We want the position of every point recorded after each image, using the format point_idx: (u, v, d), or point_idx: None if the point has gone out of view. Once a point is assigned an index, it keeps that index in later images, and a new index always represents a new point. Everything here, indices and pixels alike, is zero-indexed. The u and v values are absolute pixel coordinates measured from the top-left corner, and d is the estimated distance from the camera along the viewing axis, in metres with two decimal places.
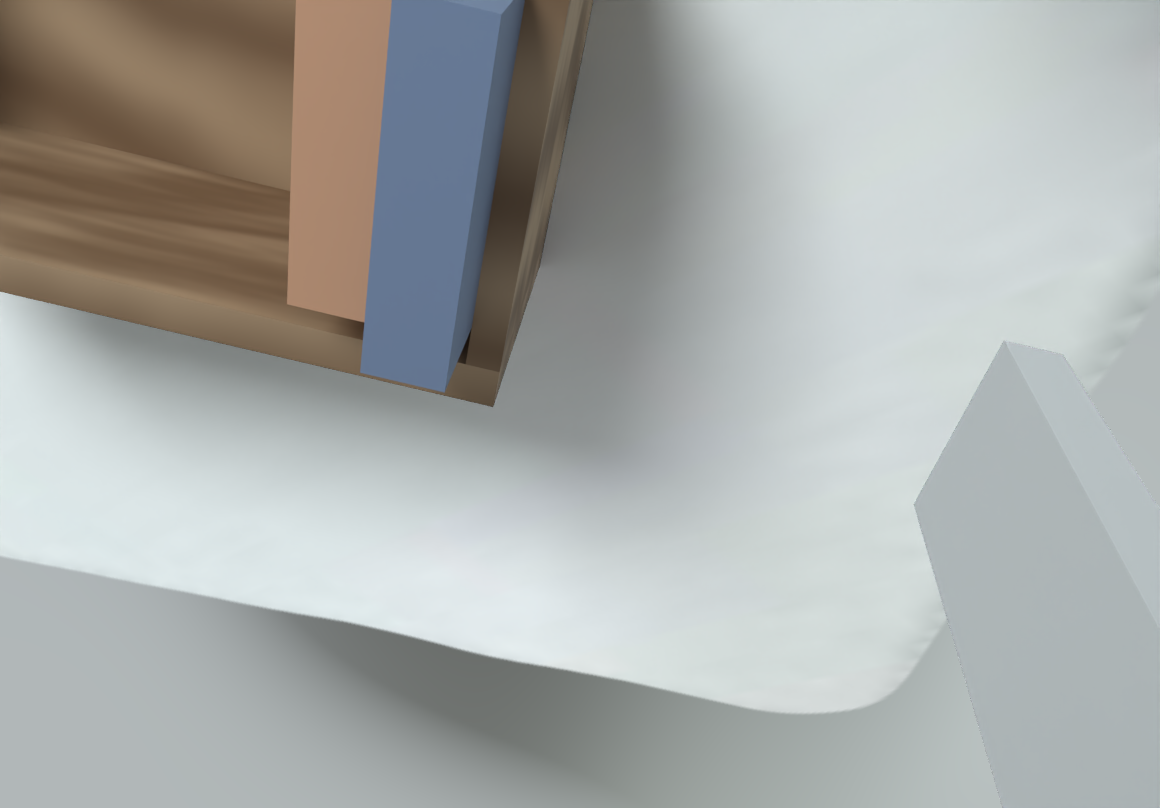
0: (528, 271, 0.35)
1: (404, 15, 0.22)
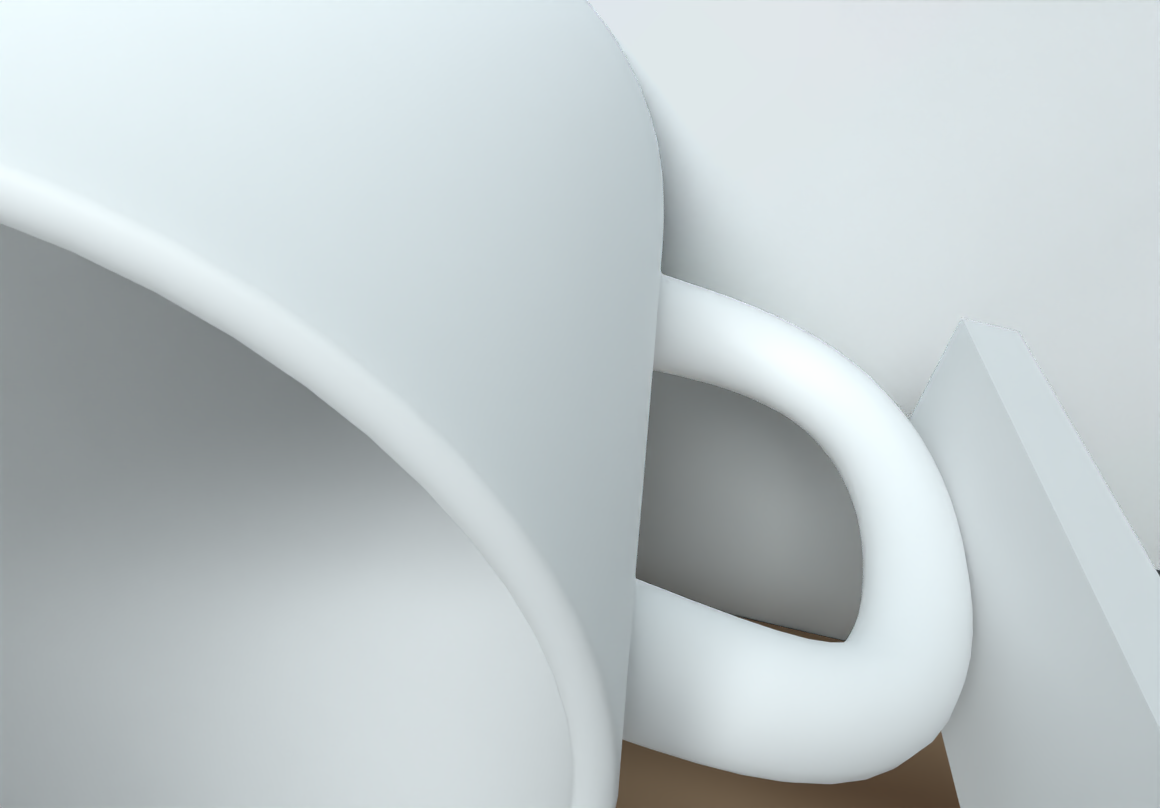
0: None
1: None
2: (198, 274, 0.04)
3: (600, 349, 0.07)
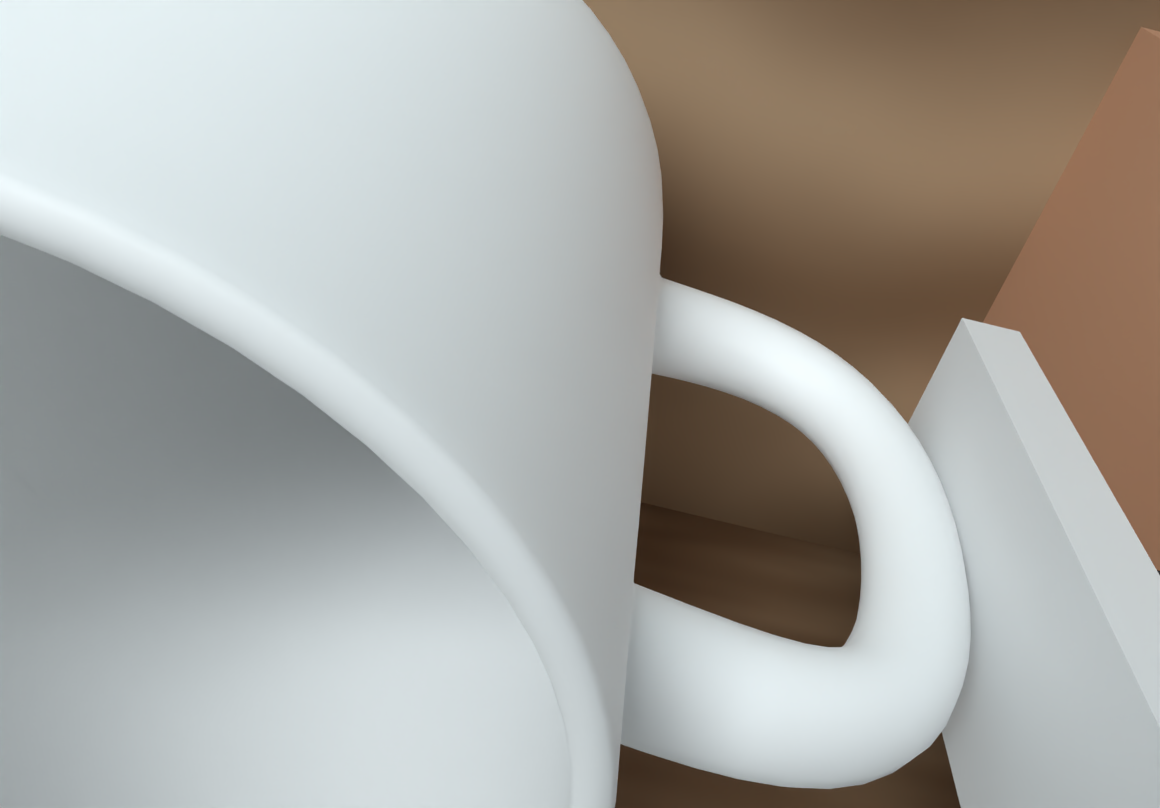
0: None
1: None
2: (197, 285, 0.04)
3: (598, 355, 0.07)
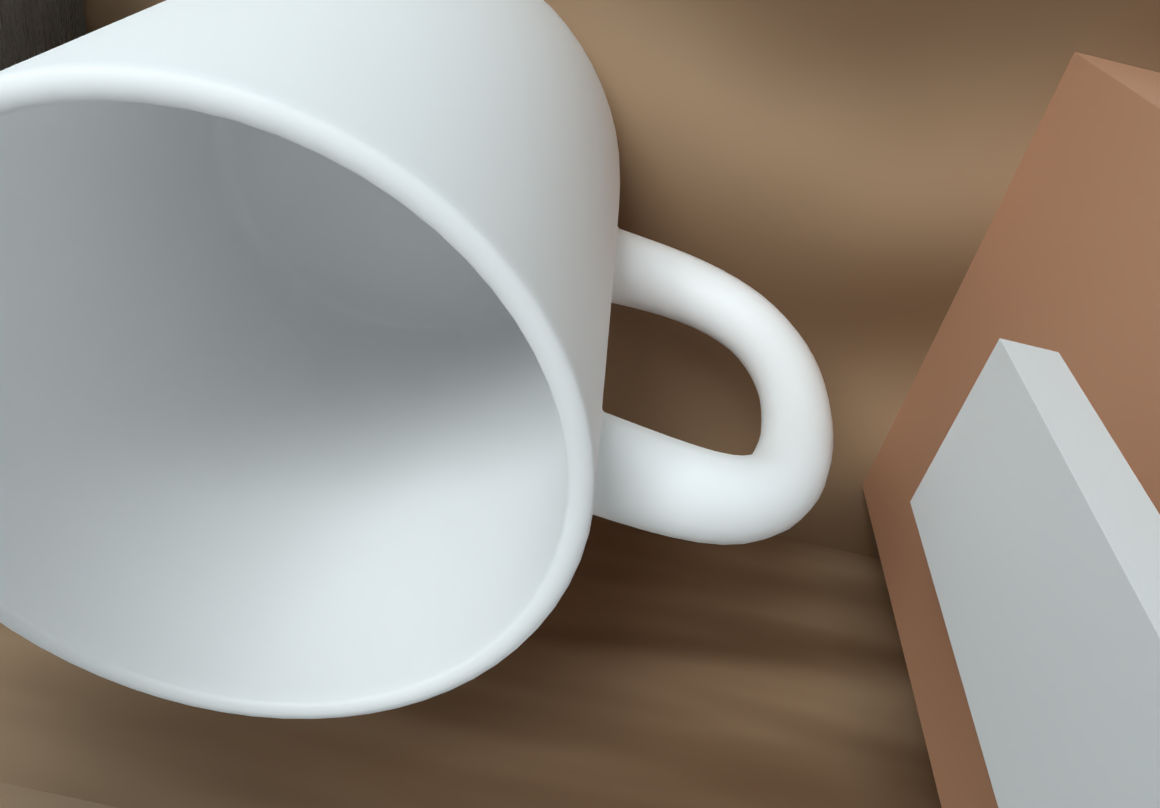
0: None
1: None
2: (386, 167, 0.08)
3: (581, 247, 0.11)
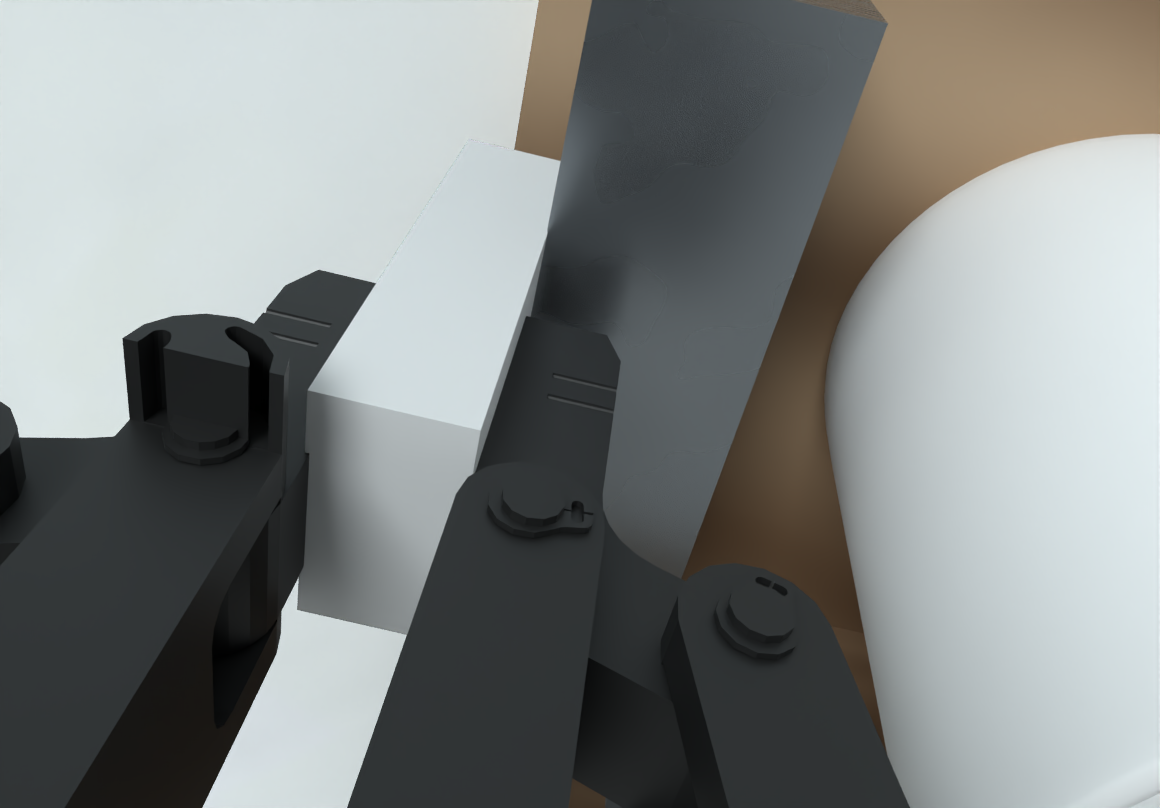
0: None
1: None
2: None
3: None
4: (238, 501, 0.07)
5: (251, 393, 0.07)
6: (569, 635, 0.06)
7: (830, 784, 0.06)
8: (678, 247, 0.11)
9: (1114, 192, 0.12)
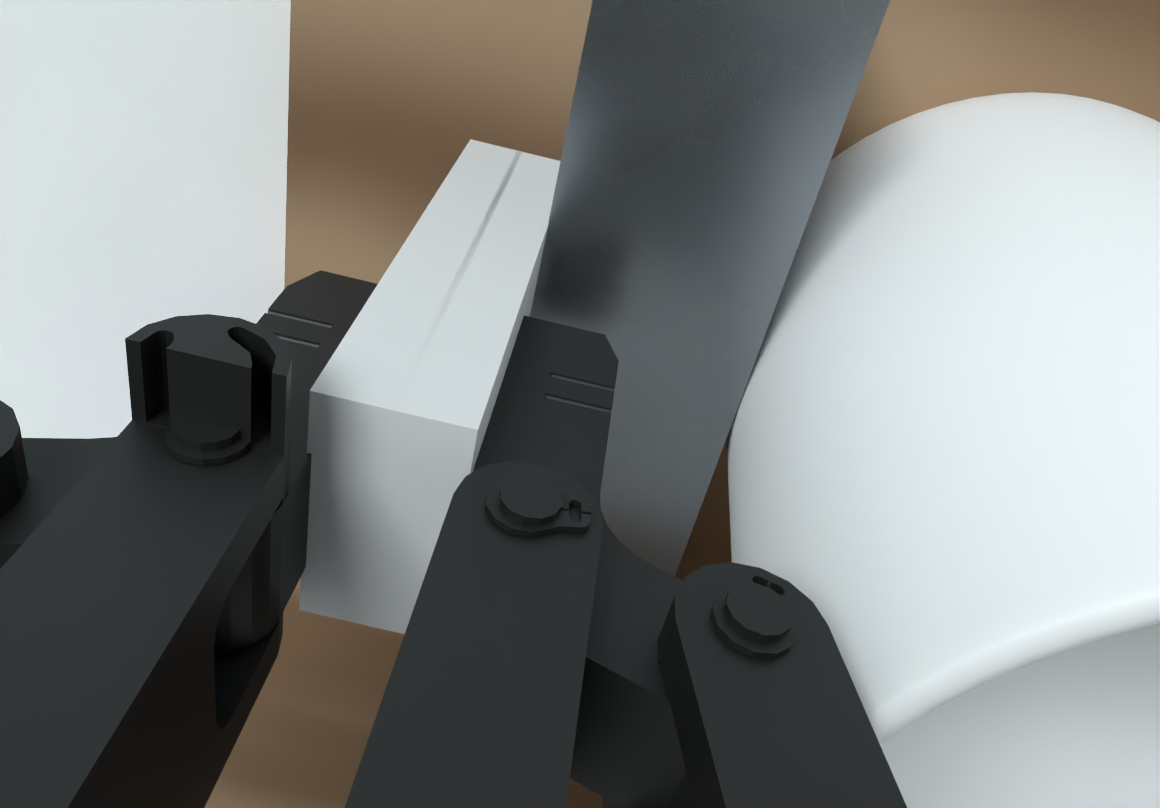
0: None
1: None
2: None
3: None
4: (240, 501, 0.07)
5: (253, 393, 0.07)
6: (566, 634, 0.06)
7: (827, 783, 0.06)
8: (680, 224, 0.11)
9: (980, 147, 0.12)
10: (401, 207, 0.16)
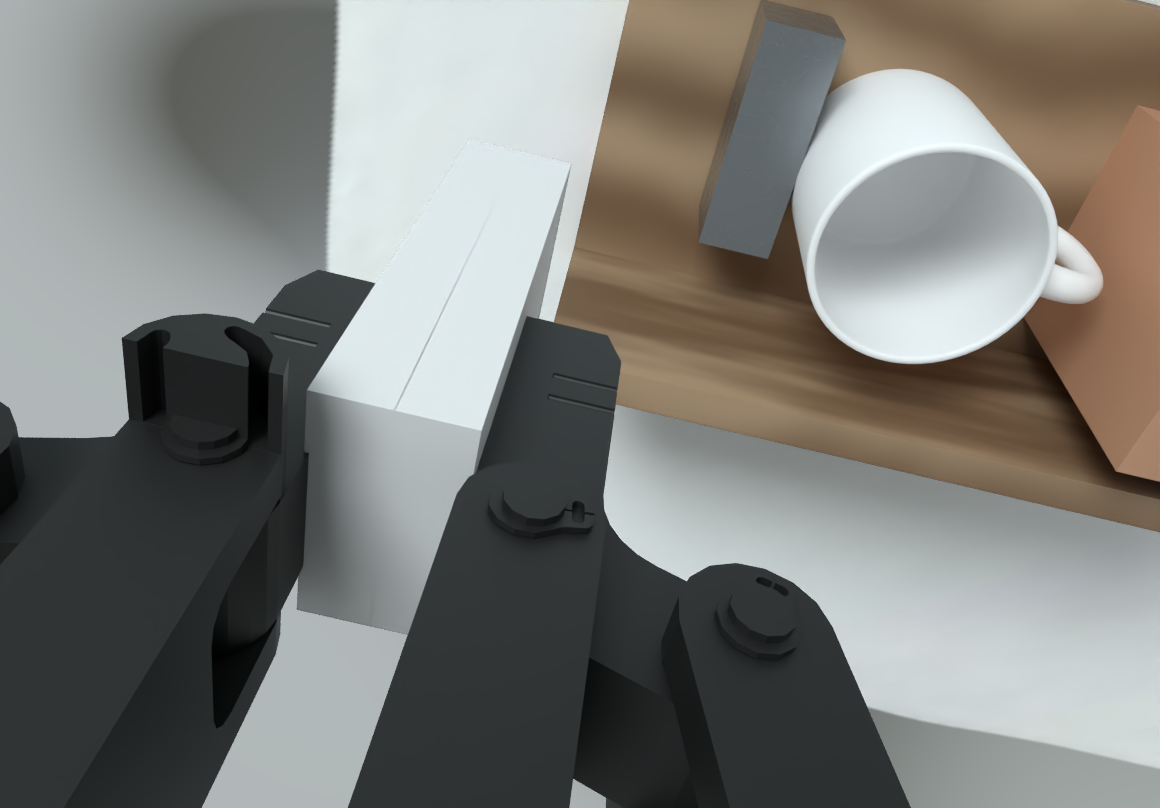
0: None
1: None
2: (1024, 170, 0.30)
3: None
4: (237, 501, 0.07)
5: (250, 393, 0.07)
6: (570, 635, 0.06)
7: (831, 784, 0.06)
8: (782, 109, 0.35)
9: (877, 85, 0.36)
10: (651, 115, 0.40)
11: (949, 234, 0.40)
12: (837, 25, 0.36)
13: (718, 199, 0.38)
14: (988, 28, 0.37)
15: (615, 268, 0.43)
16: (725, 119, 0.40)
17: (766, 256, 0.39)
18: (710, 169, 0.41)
